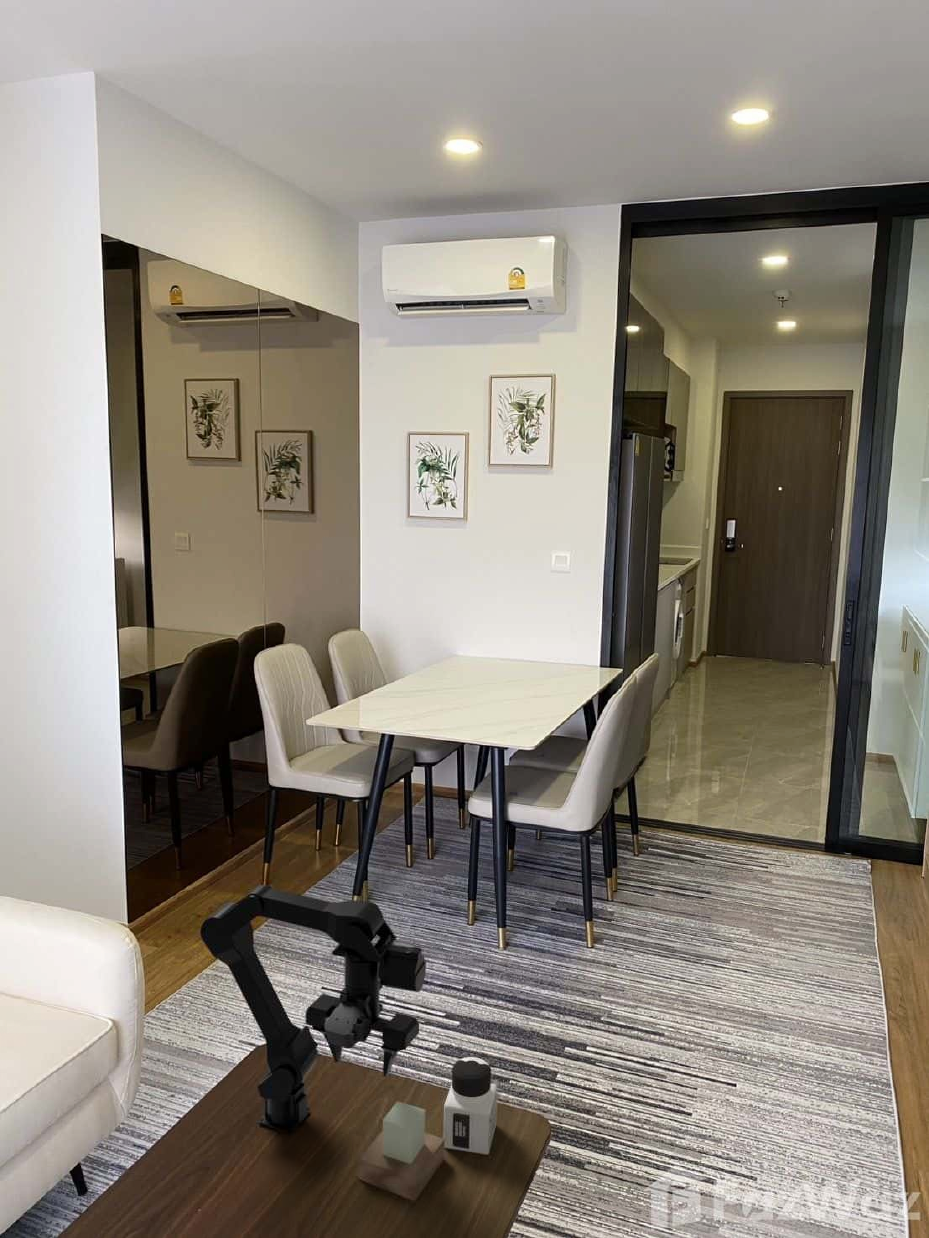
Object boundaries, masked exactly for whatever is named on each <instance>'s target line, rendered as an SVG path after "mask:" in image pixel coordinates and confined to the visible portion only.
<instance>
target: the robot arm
mask: <svg viewBox="0 0 929 1238" xmlns="http://www.w3.org/2000/svg"><path fill="white" fill-rule="evenodd" d="M379 907H380V906H379V905H377V904H376V903H375V902H373V901H368V900H346V901H345V900H344V901H339V902H331V901H326V900H323V899H319V898H314V897H310V896H305V895H301V894H298V893H293V892H288V891H285V890H280V889H277V888H273V887H272V886H270V885H267V884H260V885H258V886H256V888H254V889H253V890H252V891H250V892H249V893H248V894H247V895H245V896H243V898H241V899H239V901H237V902H231V901H230V902H227V903H225V904H223V905H222V906H221V907H220V908H219V907H218V909H217V910H215V912H214V913H212V914H211V915H210V916H208V917H207V918H206V919H205V920H204V921H203V923H202V924H201V928H200V930H199V935H200V939H201V941H202V942H203V943H204V945H205V946H206V948H207V950H208V951H209V952H210V954H211V955H212V956H213V957H214V958H215V959H217V960H218V961H220V962H221V963H223V964H224V965H226V966H227V967H228V968H229V970H230V973H231V974H232V977H233V979H234V981H235V983H236V985H237V986H238V989H239V990H240V993H241V994H242V997H243V998H244V1000H245V1002H246V1004H247V1007H248V1009H249V1010H250V1012H251V1014H252V1017H254V1020H255V1022H256V1024H257V1026H258V1027H259V1030H260V1032H261V1034H262V1036H263V1038H264V1040H265V1053H266V1057H265V1058H266V1064H267V1067H268V1069H269V1071H268V1072H267V1073H266V1074H265V1076H264V1077H263V1078H262V1079H261V1081H260V1082H259V1083H258V1085H257V1089H258V1093H259V1095H260V1098H263V1102H264V1103H263V1108H264V1109H263V1110H264V1112H263V1113H264V1114H263V1115H261V1117H260V1118H259V1119H258V1124H259V1125H262V1126H265V1127H268V1128H270V1129H273V1130H276V1131H280V1132H283V1133H286V1134H291V1133H292V1132H293V1131H295V1129H296V1128H297V1127H298V1126H299V1125H300V1123H302V1122H303V1120H304V1119H306V1117H307V1116H308V1115H309V1114H310V1112H311V1109H310V1107H308V1104H307V1103H308V1101H307V1098H308V1097H307V1096H308V1095H307V1093H305V1091H306V1090H305V1088H306V1087H305V1083H304V1080H305V1079H306V1078H307V1076H308V1075H309V1073H310V1072H311V1070H312V1069H313V1068H314V1066H315V1064H317V1060H318V1057H319V1051H318V1046H319V1043H317V1042H316V1041H315V1039H314V1038H313V1036H312V1033H311V1029H310V1028H309V1027H308V1026H311V1027H312V1030H314V1031H317V1032H319V1033H321V1034H322V1035H323V1036H324V1039H325V1040H326V1042H327V1045H328V1047H329V1050H330V1052H331V1055H332V1057H333V1060H334V1062H335V1063H336V1064H337V1063H339V1061H340V1060H341V1058H342V1051H343V1048H344V1049H346V1050H347V1049H348V1050H350V1049H352V1048H354V1047H355V1045H356V1044H358V1042H362V1043H365V1042H366V1041H367V1039H368V1037H369V1036H370V1034H371V1032H372V1031H373V1030H374V1031H377V1032H381V1033H382V1036H381V1039H382V1040H381V1041H382V1043H383V1044H381V1046H380V1048H381V1050H383V1062H382V1065H383V1066H382V1073H383V1077H385V1078H386V1077H387V1076H388V1075H389V1074H390V1071H391V1069H392V1066H393V1063H394V1062H395V1059H396V1057H397V1055H398V1052H400V1051H404V1050H407V1048H408V1047H409V1045H410V1044H412V1042H413V1041H414V1040H415V1038H416V1037H417V1036H418V1035H419V1033H420V1023H419V1020H418V1019H417V1018H416V1017H414V1016H410V1015H406V1014H402V1013H399V1012H397V1013H396V1014H394V1016H393V1017H392V1018H391V1019H388V1018H385V1017H381V1016H380V1014H381V1013H382V1012H383V1010H384V1005H383V1003H380V991H381V989H383V988H384V987H385V988H390V989H396V990H403V991H408V992H414V993H420V992H421V990H422V988H423V985H424V981H425V977H426V971H427V962H426V961H425V960H426V959H425V956H424V954H422V951H423V949H422V948H421V947H417V946H402V945H396V944H395V942H396V940H397V936H396V935H395V933H394V932H393V930H392V928H391V927H390V926H389V924H388V923H387V921H386V920H385V918H384V915H383V912H382V910H381V909H380V908H379ZM257 917H262V918H266V919H269V920H273V921H277V922H282V923H285V924H290V925H294V926H299V927H302V928H306V929H310V930H314V931H318V932H321V933H324V934H326V935H327V936H328V937H330V938H331V940H332V941H334V942H335V943H337V945H336V946H335V947H334V949H333V950H331V955H332V956H336V957H342V958H344V969H343V970H344V987H343V989H342V990H341V991H340V995H339V997H337V996H334V995H330V994H326V993H322V994H320V996H318V998H316V1000H314V1001H313V1002H312V1003H311V1004H310V1005H309V1006H308V1007H307V1008H306V1010H305V1015H304V1016H305V1024H306V1026H304V1027H302V1028H300V1027H298V1026H297V1025H295V1024H294V1023H293V1022H292V1021H291V1019H290V1018H289V1015H288V1014H287V1012H286V1009H285V1008H284V1005H283V1004H282V1002H281V1000H280V998H279V996H278V993H277V992H276V991H275V990H276V989H275V988H274V986H273V983H272V982H271V980H270V978H269V976H268V974H267V972H266V970H265V968H264V966H263V964H262V963H261V961H260V958H259V957H258V955H257V953H256V950H255V943H254V940H255V939H254V927H253V925H252V921H253V920H254V919H256V918H257ZM376 936H378V938H379V939H378V940H377V941H376V943H375V945H374V944H373V940H374V939H375V938H376ZM307 1025H308V1026H307Z"/></svg>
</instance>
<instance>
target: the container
mask: <svg viewBox="0 0 929 1238" xmlns="http://www.w3.org/2000/svg"><path fill="white" fill-rule="evenodd" d="M446 1096H447V1097H446V1099H445V1102H444V1106H443V1136H442V1139H444V1149H449V1150H450V1149H451V1150H456V1151H464V1152H469V1153H476V1154H481V1155H486V1156H487V1155H489V1154H490V1149H491V1145H492V1144H493V1143H492V1142H493V1138H494V1135H495V1130H496V1126H497V1112H498V1111H497V1103H498V1102H497V1100H498V1086H497V1084H496V1083H492V1068H491V1066H490V1064H488V1062H487V1061H485V1060H484V1059H482V1058H479V1057H475V1056H474V1057H473V1056H470V1057H469V1056H467V1057H462V1058H461V1059H458V1060H457V1061H456V1062H455V1063H454V1064H453V1065H452V1069H451V1086H450V1088H449V1091H448V1094H447V1095H446Z"/></svg>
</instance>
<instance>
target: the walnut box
mask: <svg viewBox="0 0 929 1238" xmlns="http://www.w3.org/2000/svg"><path fill="white" fill-rule="evenodd" d="M444 1161H445V1147H444V1139H443V1137H439V1136H436V1135H434V1134H430V1133H429V1132H425V1144H424V1146H423V1147H422V1149H421V1150H420V1152H419V1153H418V1155H417V1156H416V1158H415V1159H414V1161H413V1162H412V1163H411V1164H409V1163H406V1162H403V1161H400V1160H397V1159H394V1158H391V1157H388V1156H385V1155H383V1130H382V1131H381V1132H380V1133H379V1134H378V1135H377V1137H375V1138H374V1140H373V1141H372V1142H371V1144H370V1145H368V1147H367V1148H366V1150H364V1152H363V1153H362V1154H361V1155H360V1157H359V1158H358V1180H361V1182H362V1181H363V1182H365V1183H367V1184H370V1185H372V1186H376V1187H378V1188H380V1189H383V1190H386V1191H387V1192H391V1193H393V1194H395V1195H398V1196H400V1197H402V1198H403V1197H404V1198H406V1199H408V1200H410V1201H414V1202H415V1201H416V1200H417V1198H418V1197H419V1196H420V1194H422V1191H423V1190H424V1188H425V1187H426V1185H428V1183H429V1181H431V1179H432V1178H433V1176H434V1174H435V1173H436V1172H437V1170H438V1169H439V1168H440V1166H441V1165H442V1163H443V1162H444Z"/></svg>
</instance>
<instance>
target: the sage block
mask: <svg viewBox="0 0 929 1238" xmlns="http://www.w3.org/2000/svg"><path fill="white" fill-rule="evenodd" d="M382 1131H383V1155H385V1156H388V1157H391V1158H394V1159H397V1160H400V1161H403V1162H406V1163H409V1164H411V1163H412V1162H413V1161H414V1159H415V1158H416V1156H417V1155H418V1153H419V1152H420V1150H421V1149H422V1147H423V1146H424V1144H425V1133H426V1109H424V1108H421V1107H417V1106H414V1105H411V1104H407V1103H404V1102H402V1101H398V1100H397V1101H396V1102H395V1104H394V1105H393V1106H392V1107H391V1109H390V1110H389V1112H387V1114H386V1115H385V1117H384V1118H383V1119H382Z"/></svg>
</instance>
